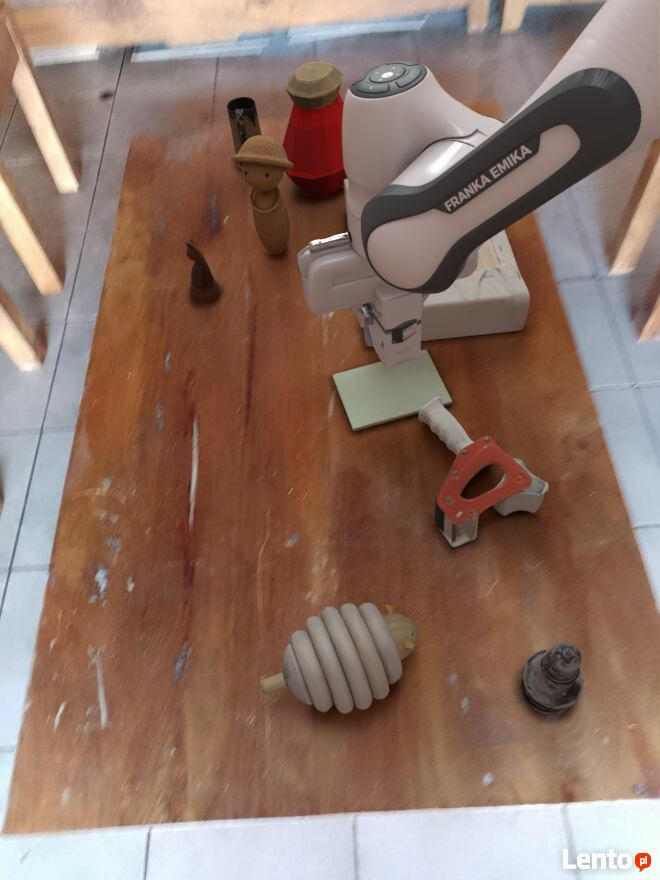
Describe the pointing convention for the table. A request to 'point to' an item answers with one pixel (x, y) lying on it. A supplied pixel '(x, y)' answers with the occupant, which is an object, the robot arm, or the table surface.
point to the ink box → (395, 325)
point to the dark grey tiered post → (553, 679)
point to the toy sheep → (345, 657)
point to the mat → (389, 391)
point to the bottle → (315, 130)
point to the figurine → (266, 189)
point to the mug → (243, 121)
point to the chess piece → (201, 277)
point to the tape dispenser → (460, 513)
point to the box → (478, 297)
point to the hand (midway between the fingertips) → (390, 316)
